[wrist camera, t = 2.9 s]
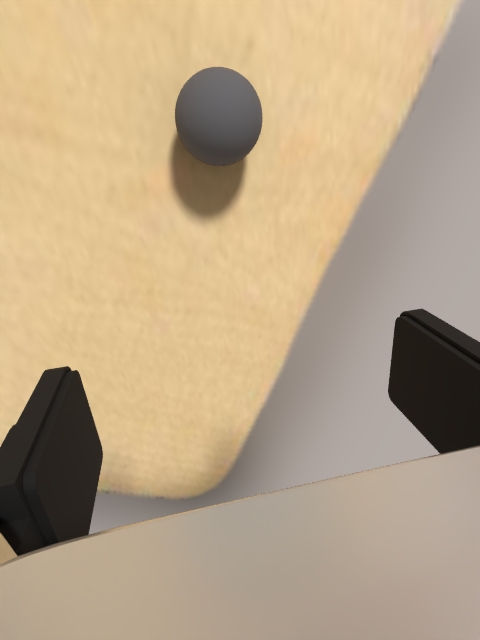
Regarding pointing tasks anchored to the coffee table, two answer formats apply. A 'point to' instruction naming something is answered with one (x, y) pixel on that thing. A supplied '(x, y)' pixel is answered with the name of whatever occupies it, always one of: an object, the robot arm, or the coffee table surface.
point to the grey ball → (218, 116)
